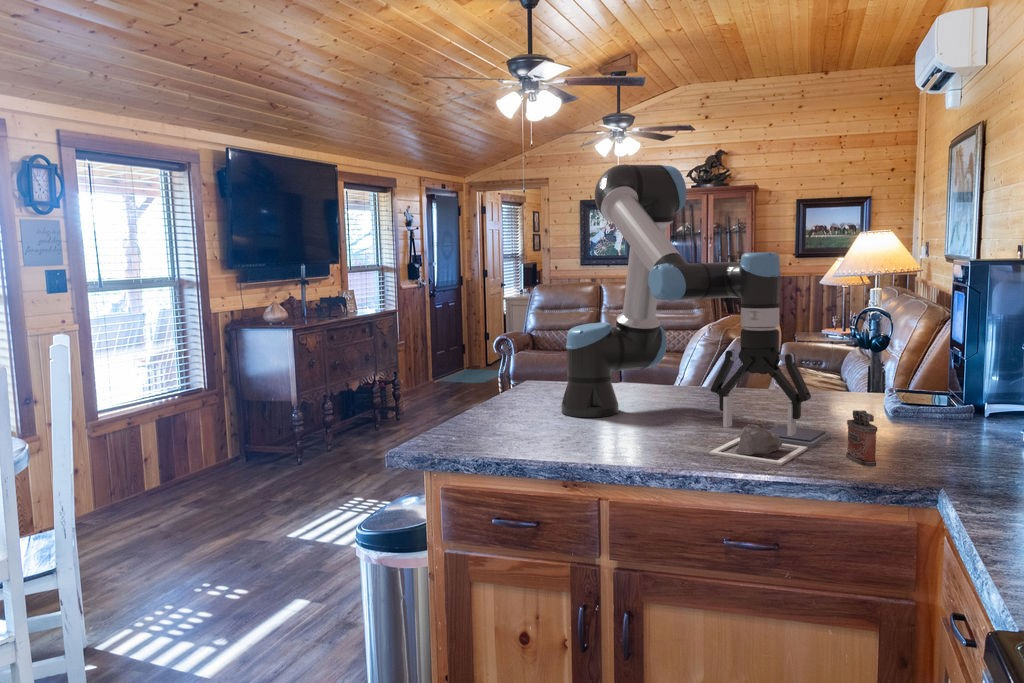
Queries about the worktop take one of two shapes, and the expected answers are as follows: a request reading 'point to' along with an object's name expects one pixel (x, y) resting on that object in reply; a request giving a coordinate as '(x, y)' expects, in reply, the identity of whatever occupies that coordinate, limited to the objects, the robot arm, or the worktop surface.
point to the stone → (757, 441)
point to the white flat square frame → (780, 462)
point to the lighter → (862, 439)
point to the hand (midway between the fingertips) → (758, 430)
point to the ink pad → (801, 436)
